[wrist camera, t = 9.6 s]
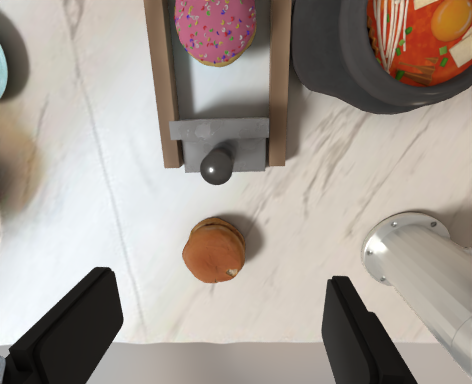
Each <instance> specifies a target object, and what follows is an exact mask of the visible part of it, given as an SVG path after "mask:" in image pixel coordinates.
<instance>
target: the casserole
mask: <svg viewBox="0 0 472 384" xmlns="http://www.w3.org/2000/svg"><path fill="white" fill-rule="evenodd" d="M290 55H291V59H292V62H293V66H294V70H295V72H296V74H297V76H298V78H299V80H300V82H301V83H302V84H303V85H305V86H306V87H307V88H308V89H309V90H311V91H315V92H319V93H322V94H326V95H330V96H333V97H337V98H339V99H341V100H343V101H345V102H347V103H349V104H351V105H352V106H354V107H356V108H358V109H360V110H362V111H366V112H370V113H374V114H398V113H403V112H408V111H411V110H414V109H417V108H419V107H422V106H426V105H432V104H436V103H438V102H441V101H444V100H447V99H449V98H452V97H453V96H455V95H457V94H459V93H461V92H462V91H464V90H466V89H468V88H469V87H470V86H472V0H295V1H294V5H293V9H292V13H291V26H290Z"/></svg>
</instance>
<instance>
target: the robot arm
mask: <svg viewBox="0 0 472 384" xmlns="http://www.w3.org/2000/svg"><path fill="white" fill-rule="evenodd" d="M361 252H362V262H363V265H364V267H365V269H366V270H367V272H368V273H369V274H370V276H372V277H373V278H374V279H375V280H376V281H378V282H380V283H382V284H385V285H388V286H393V287H394V289H395V290H396V291H397V292H398V293H399V295H400V296H401V297H402V298H403V299H404V301H405V302H406V303H407V304H408V305H409V307H410V308H411V309H412V310H413V311H414V313H415V314H416V315H417V316H418V317H419V319H420V320H421V321H422V322H423V324H424V325H425V326H426V327H427V328H428V330H429V331H430V332H431V333H432V334H433V336H434V337H435V338H436V339H437V340H438V342H439V343H440V344H441V345H442V346H443V348H444V349H445V350H446V351H447V352H448V354H449V355H450V356H451V357H452V358H453V360H454V361H455V362H456V363H457V364H458V365H459V366H460V367H461V369H462V370H463V371H464V373H465V374H466V375H467V376H468V377H469V378H470V379H471V380H472V247H465V248H463V247H461V246H460V245H458V244H456V243H455V242H453V241H452V240H451V237H450V234H449V231H448V230H447V228H446V227H445V226H444V225H443V224H442V223H441V222H440V221H438V220H437V219H435V218H433V217H431V216H429V215H426V214H423V213H417V212H408V213H402V214H398V215H395V216H392V217H389V218H388V219H386V220H384V221H382V222H381V223H379V224H378V225H377V226H376V227H375V228H374V229H373V230H372V231H371V232H370V233H369V234H368V236H367V237H366V239H365V241H364V244H363V247H362V251H361ZM122 324H123V313H122V308H121V303H120V298H119V293H118V287H117V282H116V277H115V273H114V271H112V270H111V269H110V268H109V267H95V268H94V269H93V270H91V271H90V272H89V273H88V274H87V275H86V276H85V277H84V278H83V279H82V280H81V281H80V282H79V283H78V284H77V285H76V286H75V287H74V288H73V289H71V290H70V291H69V292H68V293H67V294H66V295H65V296H64V297H63V298H62V299H61V300H60V301H59V302H58V303H57V304H56V305H55V306H54V307H52V308H51V309H50V310H49V311H48V312H47V313H46V314H45V315H44V316H43V317H42V318H41V319H40V320H39V321H38V322H37V323H36V324H35V325H33V326H32V327H31V328H30V329H29V330H28V331H27V332H26V333H25V334H24V335H23V336H22V337H21V338H20V339H19V340H18V341H17V342H16V343H15V344H13V345H12V346H11V347H10V348H9V352H10V354H9V355H8V356H7V357H6V358H4V357H2V356H0V384H86V382H87V381H88V379H89V378H90V376H91V374H92V373H93V371H94V370H95V368H96V367H97V365H98V363H99V362H100V360H101V359H102V357H103V355H104V354H105V352H106V351H107V349H108V348H109V346H110V344H111V343H112V341H113V340H114V338H115V336H116V335H117V333H118V332H119V330H120V329H121V327H122ZM322 338H323V342H324V345H325V348H326V352H327V355H328V358H329V362H330V365H331V368H332V372H333V375H334V378H335V382H336V384H418V383H417V382H416V380H415V378H414V377H413V375H412V374H411V372H410V370H409V368H408V367H407V365H406V363H405V362H404V360H403V358H402V357H401V355H400V353H399V352H398V350H397V348H396V347H395V345H394V343H393V342H392V340H391V338H390V337H389V335H388V334H387V332H386V330H385V329H384V327H383V325H382V324H381V322H380V320H379V319H378V317H377V316H376V314H375V313H373V312H368V310H367V309H366V307H365V305H364V303H363V302H362V300H361V298H360V296H359V295H358V293H357V291H356V289H355V288H354V286H353V284H352V282H351V281H350V279H349V277H347V276H333V277H332V279H328V281H327V289H326V297H325V305H324V313H323V321H322Z"/></svg>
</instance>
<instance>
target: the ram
mask: <svg viewBox="0 0 472 384" xmlns="http://www.w3.org/2000/svg"><path fill="white" fill-rule="evenodd" d="M169 128H170V136H171V140H182V143H183V154H184V164H185V173H189V172H201V175H202V177H203V178H204V180H205V181H207V182H208V183H210V184H213V185H221V184H224V183H225V182H227V181H228V180H229V179H230V177H231V175H232V172H249V171H265V148H266V138H269V118H266V117H253V118H217V119H182V120H175V121H169Z"/></svg>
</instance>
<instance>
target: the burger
mask: <svg viewBox="0 0 472 384" xmlns="http://www.w3.org/2000/svg"><path fill="white" fill-rule="evenodd" d="M244 252H245V241H244V238H243V236H242V234H241V233H239V232H238V230H237V229H235V227H233V226H232V225H231V224H229V223H227V222H225V221H223V220H221V219H219V218H210V219H206V220H203V221H201V222H199V223H198V224H197V225H196V226H195V227H194V228H193V229H192V231H191V233H190V236H189V240H188V242H187V243H186V245H185V247H184V249H183V253H182V257H183V260H184V262H185V264H186V266H187V267H188V269H189V270H190V271H191V272H192V274H193V275H194V276H195V277H196V278H198V279H199V280H201V281H203V282H205V283H218V282H223V281H228V280H231V279H232V278H234V277H235V276H236V275H237V273H238V272H239V271H240V270H241V269H242V267H243V265H244V262H245V253H244Z"/></svg>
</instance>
